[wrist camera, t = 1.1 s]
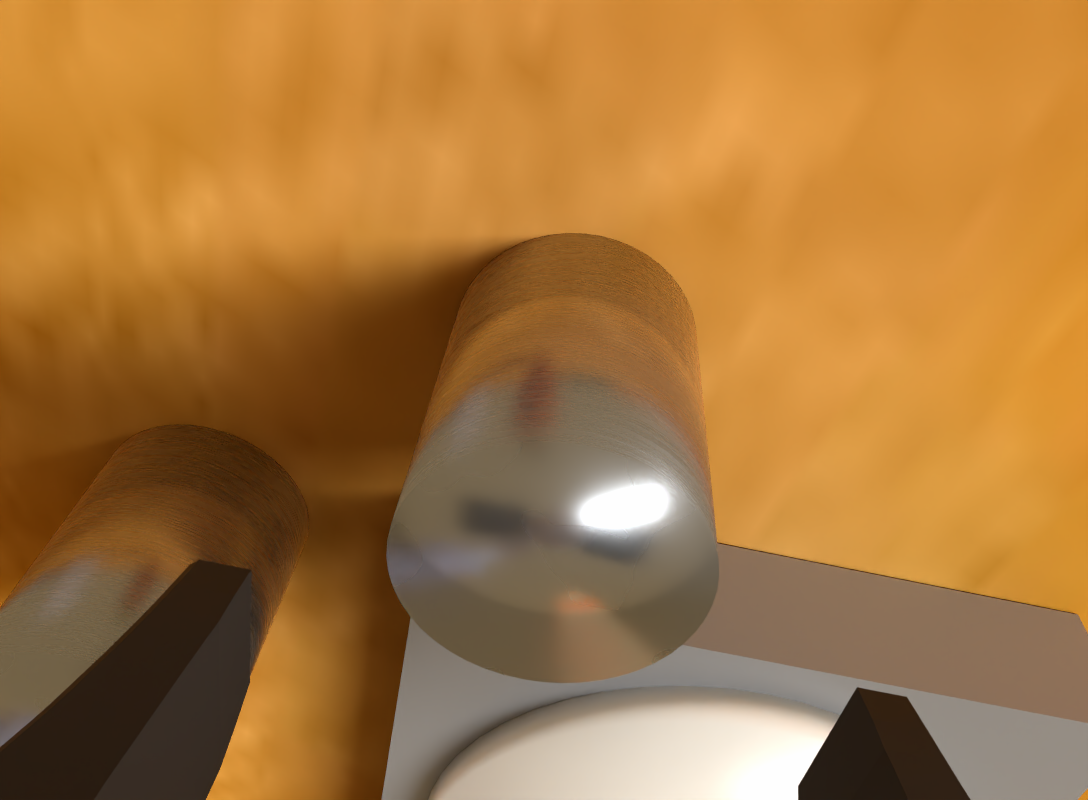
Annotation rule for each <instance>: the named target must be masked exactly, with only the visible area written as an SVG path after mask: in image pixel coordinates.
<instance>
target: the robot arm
mask: <svg viewBox="0 0 1088 800" xmlns="http://www.w3.org/2000/svg"><path fill="white" fill-rule="evenodd" d="M251 573H252V570H250V569H245V568H240V567H235V566H230V565H224V564H219V563H214V562H209V561H204V560H197V561H196V562H194V563H192V564H190V565H189V566H188V567H187V568H186V569H185V570H184V571H183V572H182V574H181V575H180V576H179V577H178V578H177V579H176V580H175V581H174V582H173V583H172V584H171V586H170V587H169V588H168V589H167V590H166V591H165V592H164V593H163V594H162V595H161V596H160V597H159V598H158V599H157V600H156V601H155V603H154V604H153V605H152V606H151V607H150V608H149V609H148V610H147V611H146V612H145V613H144V614H143V615H142V616H141V617H140V618H139V619H138V620H137V621H136V622H135V623H134V624H133V625H132V626H131V627H130V628H129V629H128V630H127V631H126V632H125V633H124V634H123V635H122V636H121V637H120V638H119V639H118V640H117V641H116V642H115V643H114V644H113V645H112V646H111V647H110V648H109V649H108V650H107V651H106V652H105V653H104V654H103V655H102V656H101V657H100V658H99V659H97V660H96V661H95V662H94V663H93V664H92V665H91V666H90V667H89V668H88V669H87V670H86V671H85V672H84V673H83V674H81V675H80V676H79V677H78V678H77V679H76V680H75V681H74V682H73V683H72V684H71V685H70V686H69V687H68V688H67V689H65V690H64V691H63V692H62V693H61V694H60V695H59V696H58V697H57V698H56V699H55V700H54V701H53V702H52V703H50V704H49V705H48V706H47V707H46V708H45V709H44V710H43V711H42V712H40V713H39V714H38V715H37V716H36V717H35V718H34V719H33V720H31V721H30V722H29V723H28V724H27V725H25V726H24V727H23V728H22V729H21V730H20V731H18V732H17V733H16V734H15V735H14V736H13V737H11V738H10V739H9V740H8V741H7V742H6V743H4V744H3V745H2V746H1V747H0V800H206V798H207V796H208V794H209V791H210V789H211V787H212V785H213V783H214V781H215V778H216V776H217V774H218V772H219V770H220V767H221V765H222V762H223V759H224V756H225V753H226V751H227V748H228V745H229V742H230V739H231V736H232V734H233V731H234V728H235V725H236V722H237V719H238V716H239V713H240V710H241V707H242V704H243V701H244V698H245V695H246V692H247V689H248V686H249V683H250V638H251ZM798 800H970V798H969V796H968V795H967V793H966V792H965V790H964V788H963V787H962V785H961V784H960V782H959V780H958V779H957V777H956V775H955V774H954V772H953V771H952V769H951V767H950V766H949V764H948V762H947V761H946V759H945V758H944V756H943V754H942V753H941V751H940V749H939V748H938V746H937V745H936V743H935V741H934V740H933V738H932V736H931V735H930V733H929V732H928V730H927V728H926V727H925V725H924V723H923V722H922V720H921V719H920V717H919V715H918V714H917V712H916V710H915V709H914V707H913V706H912V704H911V703H910V701H909V699H908V698H907V697H905V696H900V695H895V694H890V693H884V692H879V691H874V690H869V689H864V688H859V687H857V688H856V690H855V691H854V693H853V695H852V696H851V698H850V700H849V701H848V703H847V705H846V706H845V708H844V710H843V711H842V713H841V715H840V716H839V718H838V720H837V721H836V723H835V725H834V726H833V728H832V730H831V731H830V733H829V735H828V736H827V738H826V740H825V742H824V743H823V745H822V747H821V748H820V750H819V752H818V753H817V755H816V757H815V758H814V760H813V762H812V763H811V765H810V767H809V768H808V770H807V772H806V773H805V775H804V777H803V778H802V780H801V782H800V783H799V785H798Z"/></svg>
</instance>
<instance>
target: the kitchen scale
mask: <svg viewBox="0 0 1088 800" xmlns="http://www.w3.org/2000/svg"><path fill="white" fill-rule="evenodd" d="M717 548H718V558H719V581H718V589H717V593H716V596H715V599H714V602H713V605H712V607H711V609H710V611H709V613H708V615H707V617H706V619H705V620H704V622H703V623H702V624H701V625H700V627H699V628H698V629H697V631H696V632H695V633H694V634H693V635H692V636H691V637H690V638H689V639H688V640H687V641H686V642H685V643H684V644H683V645H682V646H680V647H679V648H678V649H676V650H675V651H674V652H672V653H671V654H670V655H668V656H666V657H664V658H663V659H661V660H659V661H657V662H656V663H654V664H652V665H649V666H647V667H645V668H642V669H640V670H638V671H635V672H632V673H629V674H625V675H622V676H619V677H614V678H609V679H605V680H599V681H591V682H582V683H551V682H539V681H532V680H525V679H520V678H515V677H511V676H507V675H503V674H500V673H497V672H494V671H491V670H488V669H485V668H482V667H480V666H478V665H475V664H473V663H471V662H468V661H466V660H464V659H463V658H461V657H459V656H457V655H455V654H454V653H452V652H450V651H449V650H447V649H446V648H444V647H443V646H441V645H440V644H439V643H437V642H436V641H434V640H433V639H432V638H431V637H430V636H429V635H428V634H426V633H425V632H424V631H423V630H422V629H421V628H420V627H419V626H418V625H417V624H416V623H415V621H414V620H413V619H412V618H410V624H409V630H408V637H407V643H406V649H405V656H404V662H403V668H402V674H401V681H400V687H399V693H398V699H397V706H396V712H395V718H394V725H393V731H392V737H391V743H390V750H389V756H388V762H387V769H386V775H385V781H384V787H383V794H382V800H798V785H799V783H800V782H801V780H802V778H803V777H804V775H805V773H806V772H807V770H808V768H809V767H810V765H811V763H812V762H813V760H814V758H815V757H816V755H817V753H818V752H819V750H820V748H821V747H822V745H823V743H824V742H825V740H826V738H827V736H828V735H829V733H830V731H831V730H832V728H833V726H834V725H835V723H836V721H837V720H838V718H839V716H840V715H841V713H842V711H843V710H844V708H845V706H846V705H847V703H848V701H849V700H850V698H851V696H852V695H853V693H854V691H855V690H856V688H857V687H859V688H864V689H869V690H874V691H879V692H884V693H890V694H895V695H900V696H905V697H907V698H908V699H909V701H910V703H911V704H912V706H913V707H914V709H915V710H916V712H917V714H918V715H919V717H920V719H921V720H922V722H923V723H924V725H925V727H926V728H927V730H928V732H929V733H930V735H931V736H932V738H933V740H934V741H935V743H936V745H937V746H938V748H939V749H940V751H941V753H942V754H943V756H944V758H945V759H946V761H947V762H948V764H949V766H950V767H951V769H952V771H953V772H954V774H955V775H956V777H957V779H958V780H959V782H960V784H961V785H962V787H963V788H964V790H965V792H966V793H967V795H968V796H969V798H970V800H1078V798H1079V797H1080V796H1081V795H1082V794H1083V793H1084V792H1085V791H1086V790H1087V788H1088V634H1087V632H1086V630H1085V628H1084V626H1083V624H1082V622H1081V620H1080V618H1079V616H1078V615H1077V614H1072V613H1067V612H1062V611H1057V610H1052V609H1047V608H1042V607H1037V606H1032V605H1027V604H1022V603H1016V602H1011V601H1006V600H1001V599H996V598H991V597H986V596H981V595H976V594H971V593H966V592H961V591H956V590H951V589H946V588H941V587H936V586H931V585H926V584H920V583H915V582H910V581H905V580H900V579H895V578H890V577H885V576H880V575H875V574H870V573H865V572H860V571H855V570H850V569H845V568H840V567H835V566H830V565H825V564H819V563H814V562H809V561H804V560H799V559H794V558H789V557H784V556H779V555H774V554H769V553H764V552H759V551H754V550H749V549H744V548H739V547H734V546H729V545H723V544H718V543H717Z"/></svg>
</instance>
